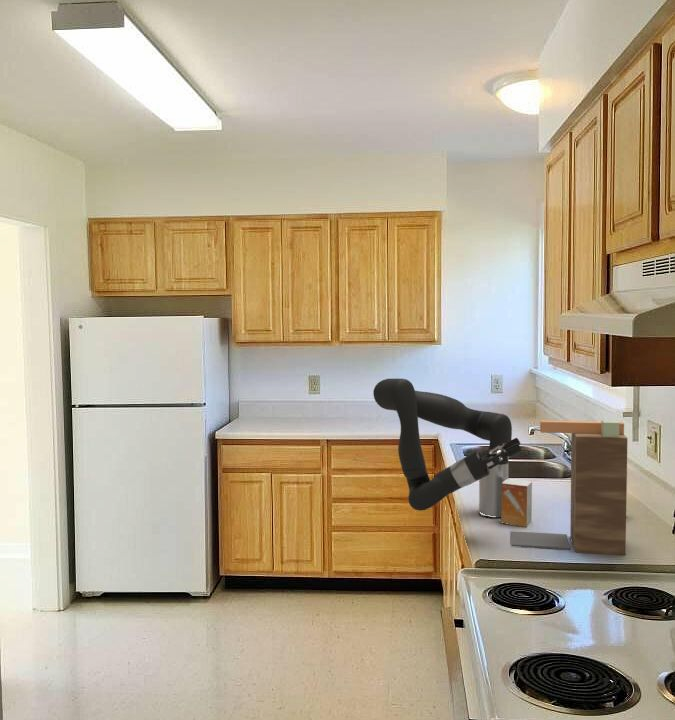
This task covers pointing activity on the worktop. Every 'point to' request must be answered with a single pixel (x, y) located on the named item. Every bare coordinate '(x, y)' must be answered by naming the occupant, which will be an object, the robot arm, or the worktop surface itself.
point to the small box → (516, 502)
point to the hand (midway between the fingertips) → (519, 443)
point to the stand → (598, 493)
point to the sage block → (610, 428)
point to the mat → (540, 540)
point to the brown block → (574, 427)
